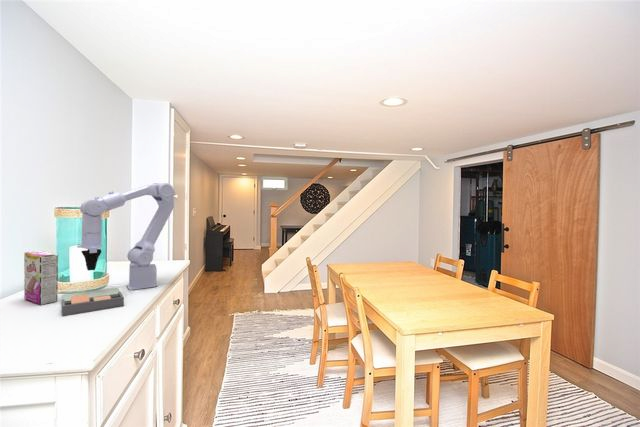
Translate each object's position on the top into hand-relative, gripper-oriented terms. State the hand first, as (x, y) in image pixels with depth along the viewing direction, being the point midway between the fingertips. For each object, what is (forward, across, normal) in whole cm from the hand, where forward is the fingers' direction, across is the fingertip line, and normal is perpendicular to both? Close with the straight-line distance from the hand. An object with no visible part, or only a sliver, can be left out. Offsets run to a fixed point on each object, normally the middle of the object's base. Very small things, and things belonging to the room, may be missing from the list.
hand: (91, 269), depth 107 cm
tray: (+9, +15, 0) cm, 17 cm away
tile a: (+9, +14, +2) cm, 17 cm away
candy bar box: (+10, -2, -13) cm, 17 cm away
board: (+9, +6, 0) cm, 11 cm away
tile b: (+8, +13, -4) cm, 16 cm away
